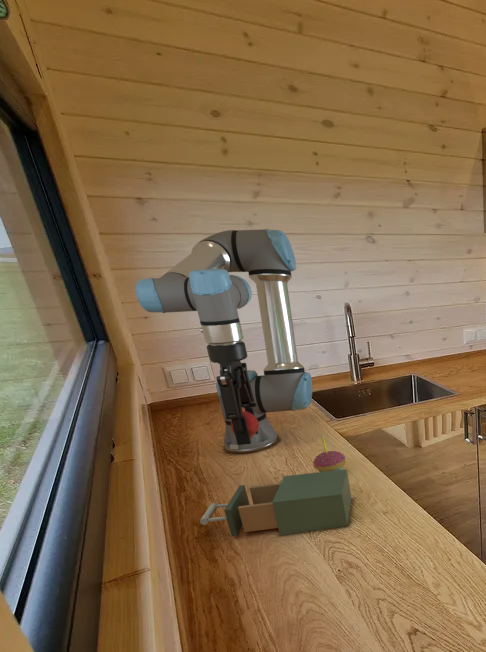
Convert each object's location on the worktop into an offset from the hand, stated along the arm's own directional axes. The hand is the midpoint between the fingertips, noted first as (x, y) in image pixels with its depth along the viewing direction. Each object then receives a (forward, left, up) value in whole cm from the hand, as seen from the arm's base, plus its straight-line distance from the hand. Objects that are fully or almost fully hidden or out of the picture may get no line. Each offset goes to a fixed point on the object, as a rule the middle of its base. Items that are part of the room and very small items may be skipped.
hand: (248, 438), depth 117 cm
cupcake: (-10, +16, -18) cm, 26 cm away
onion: (0, 0, 0) cm, 0 cm away
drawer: (+11, +1, -17) cm, 20 cm away
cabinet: (+11, +15, -17) cm, 25 cm away
